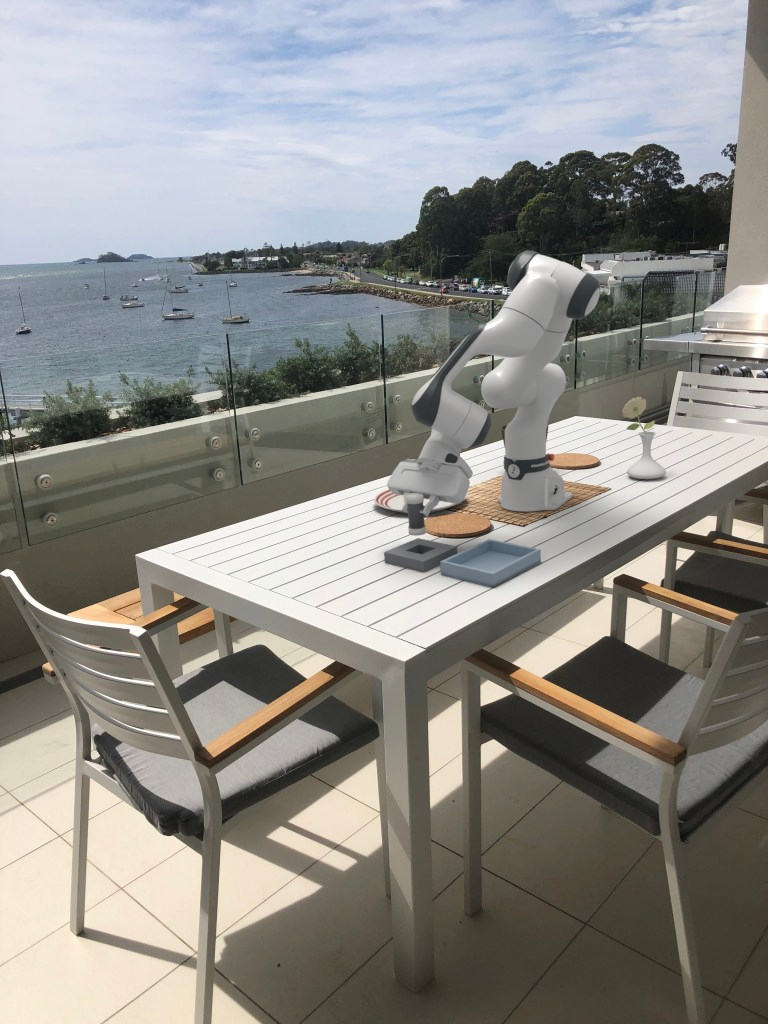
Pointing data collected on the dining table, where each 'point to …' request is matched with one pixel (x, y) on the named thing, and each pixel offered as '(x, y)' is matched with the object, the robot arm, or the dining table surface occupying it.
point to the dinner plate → (397, 502)
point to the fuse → (415, 514)
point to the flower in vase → (646, 464)
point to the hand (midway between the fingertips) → (414, 513)
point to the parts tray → (490, 562)
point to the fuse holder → (419, 554)
